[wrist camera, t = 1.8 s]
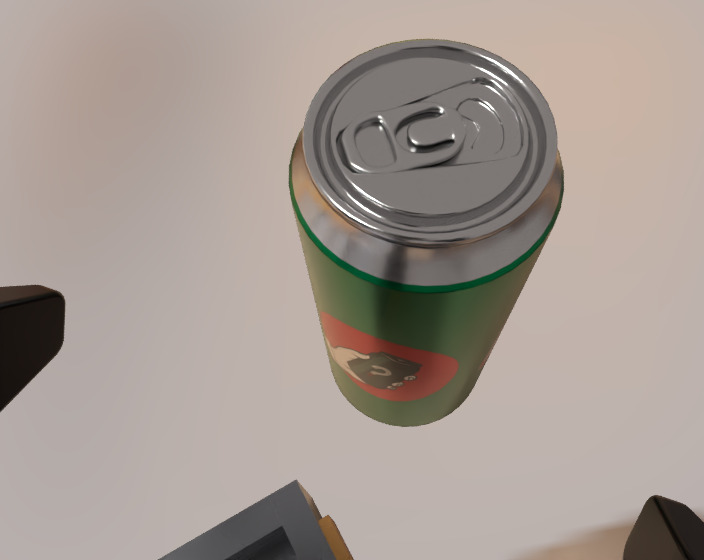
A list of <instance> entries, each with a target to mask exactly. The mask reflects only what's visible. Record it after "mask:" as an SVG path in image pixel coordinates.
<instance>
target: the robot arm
mask: <svg viewBox="0 0 704 560" xmlns="http://www.w3.org/2000/svg"><path fill="white" fill-rule="evenodd" d="M64 324H65V299H64V296H63V295H62V294H61V293H60V292H58V291H55V290H53V289H50V288H47V287H44V286H41V285H26V286H9V287H0V412H1V411H2V410H3V409H4V408H5V407H6V406H7V405H8V404H9V403H10V402H11V401H12V400H13V398H15V397H16V396H17V395H18V394H19V392H20V391H21V390H22V389H23V388H24V387H25V386H26V385H27V384H28V383H29V382H30V381H31V380H32V379H33V378H34V377H35V376H36V375H37V374H38V373H39V372H40V371H41V370H42V369H43V368H44V367H45V366H46V365H47V364H48V363H49V362H50V361H51V360H52V359H53V358H54V357H55V356H56V355H57V353H58V352H59V350H60V349H61V347H62V344H63V341H64ZM623 560H704V522H703V521H702V520H701V519H700V518H699V517H698V516H697V515H696V514H695V513H694V512H693V511H692V510H691V509H690V508H689V507H687V506H686V505H684V504H682V503H680V502H677V501H674V500H671V499H668V498H665V497H662V496H658V495H654V496H651V497H650V498H649V499H648V500H647V501H646V503H645V505H644V507H643V509H642V511H641V513H640V515H639V517H638V519H637V521H636V523H635V525H634V527H633V529H632V531H631V533H630V535H629V537H628V540H627V542H626V545H625V549H624V555H623Z"/></svg>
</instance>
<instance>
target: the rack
mask: <svg viewBox="0 0 704 560" xmlns="http://www.w3.org/2000/svg"><path fill="white" fill-rule="evenodd" d="M158 560H354V559H353V557H352V555H351V554H350V552H349V550H348V548H347V546H346V544H345V542H344V540H343V538H342V536H341V534H340V532H339V530H338V528H337V526H336V524H335V522H334V521H333V520H332V519H331V518H330V516H329V515H327V516H325V517H324V518H322V517H321V515H320V513H319V511H318V509H317V507H316V505H315V503H314V501H313V499H312V497H311V496H310V495H309V494H308V492H307V491H306V490H305V489H304V488H303V487H302V486H301V485H300V483H299V482H298V481H297V480H295V481H293V482H291V483H290V484H288V485H286V486H284V487H283V488H281V489H279V490H277V491H276V492H274V493H272V494H271V495H269V496H267V497H265V498H264V499H262V500H260V501H259V502H257V503H255V504H253V505H252V506H250V507H248V508H247V509H245V510H243V511H241V512H239V513H238V514H236V515H234V516H233V517H231V518H229V519H227V520H226V521H224V522H222V523H220V524H219V525H217V526H216V527H214V528H212V529H210V530H209V531H207V532H205V533H203V534H202V535H200V536H198V537H196V538H195V539H193V540H191V541H189V542H188V543H186V544H184V545H183V546H181V547H179V548H177V549H176V550H174V551H172V552H170V553H169V554H167V555H165V556H164V557H162V558H160V559H158Z"/></svg>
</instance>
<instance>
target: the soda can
mask: <svg viewBox="0 0 704 560" xmlns="http://www.w3.org/2000/svg"><path fill="white" fill-rule="evenodd" d="M289 188H290V195H291V200H292V205H293V210H294V214H295V218H296V222H297V227H298V231H299V235H300V239H301V243H302V248H303V252H304V256H305V260H306V265H307V269H308V273H309V277H310V281H311V286H312V290H313V294H314V298H315V303H316V307H317V311H318V315H319V319H320V324H321V328H322V332H323V336H324V340H325V345H326V348H327V353H328V357H329V362H330V366H331V370H332V373H333V376H334V379H335V382H336V383H337V385H338V387H339V389H340V391H341V392H342V394H343V395H344V396H345V397H346V398H347V400H348V401H349V402H350V403H351V404H352V405H353V406H354V407H355V408H356V409H357V410H359V411H360V412H362V413H363V414H365V415H366V416H368V417H370V418H372V419H374V420H376V421H379V422H382V423H385V424H389V425H394V426H402V427H408V426H419V425H425V424H429V423H432V422H435V421H437V420H440V419H442V418H443V417H445V416H447V415H449V414H450V413H452V412H453V411H454V410H455V409H457V408H458V407H459V406H460V405H461V404H462V403H463V402H464V401H465V399H466V398H467V397H468V396H469V394H470V392H471V391H472V389H473V387H474V386H475V383H476V381H477V379H478V377H479V375H480V373H481V371H482V369H483V367H484V365H485V363H486V361H487V359H488V357H489V355H490V353H491V351H492V349H493V347H494V345H495V343H496V341H497V339H498V337H499V335H500V333H501V331H502V329H503V327H504V325H505V323H506V321H507V319H508V317H509V315H510V313H511V311H512V309H513V307H514V305H515V303H516V301H517V299H518V297H519V295H520V293H521V291H522V289H523V287H524V285H525V283H526V281H527V279H528V277H529V274H530V273H531V271H532V269H533V267H534V265H535V263H536V261H537V258H538V257H539V255H540V253H541V250H542V248H543V246H544V244H545V242H546V240H547V238H548V236H549V234H550V232H551V230H552V228H553V226H554V224H555V221H556V219H557V216H558V214H559V211H560V208H561V203H562V198H563V192H564V171H563V166H562V162H561V157H560V153H559V150H558V148H557V131H556V126H555V122H554V118H553V115H552V113H551V110H550V108H549V105H548V103H547V101H546V100H545V98H544V97H543V95H542V94H541V92H540V90H539V89H538V88H537V87H536V85H535V84H534V83H533V82H532V81H531V80H530V79H529V78H528V77H527V76H526V75H525V74H524V73H523V72H521V71H520V70H519V69H518V68H517V67H515V66H514V65H513V64H511V63H509V62H508V61H506V60H504V59H503V58H501V57H500V56H498V55H495V54H493V53H491V52H489V51H486V50H484V49H482V48H478V47H475V46H472V45H468V44H466V43H460V42H455V41H449V40H439V39H416V40H407V41H400V42H395V43H390V44H387V45H383V46H380V47H377V48H374V49H372V50H369V51H367V52H365V53H363V54H360V55H358V56H357V57H355V58H353V59H352V60H350V61H348V62H347V63H345V64H344V65H343V66H341V67H340V68H339V69H338V70H336V71H335V72H334V73H333V74H332V75H331V76H330V77H329V78H328V79H327V80H326V81H325V83H324V84H323V85H322V86H321V87H320V89H319V90H318V92H317V94H316V95H315V97H314V98H313V100H312V102H311V105H310V107H309V110H308V112H307V114H306V118H305V123H304V127H303V128H302V130H301V131H300V133H299V135H298V138H297V140H296V143H295V145H294V148H293V151H292V155H291V160H290V165H289Z"/></svg>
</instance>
